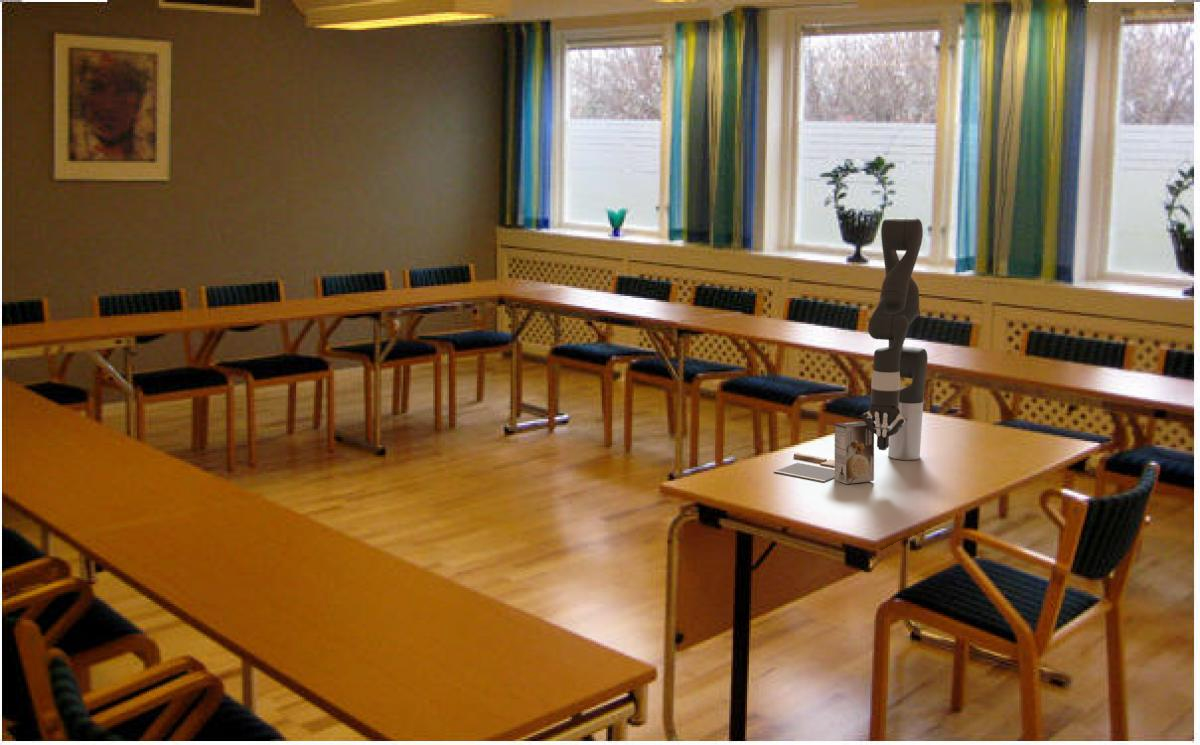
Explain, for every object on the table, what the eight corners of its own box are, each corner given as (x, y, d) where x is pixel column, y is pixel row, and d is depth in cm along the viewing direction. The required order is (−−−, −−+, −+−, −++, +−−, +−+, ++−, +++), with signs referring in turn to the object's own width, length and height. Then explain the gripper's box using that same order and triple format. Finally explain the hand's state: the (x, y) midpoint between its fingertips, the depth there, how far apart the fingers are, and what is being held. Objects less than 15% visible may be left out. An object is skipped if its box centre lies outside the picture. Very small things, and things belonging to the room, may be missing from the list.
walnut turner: (789, 459, 399) (790, 455, 399) (800, 455, 404) (800, 451, 403) (844, 470, 388) (845, 466, 388) (854, 466, 393) (854, 462, 393)
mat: (798, 463, 394) (798, 462, 394) (847, 473, 384) (847, 471, 384) (773, 472, 383) (773, 471, 383) (824, 482, 373) (824, 481, 373)
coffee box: (861, 476, 380) (862, 420, 378) (874, 481, 374) (875, 424, 372) (833, 479, 377) (834, 423, 375) (845, 484, 371) (846, 427, 369)
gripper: (914, 388, 365) (911, 450, 368) (869, 382, 373) (866, 443, 376) (902, 392, 359) (899, 455, 362) (857, 386, 367) (854, 448, 370)
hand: (882, 449), depth 369 cm, fingers closed
